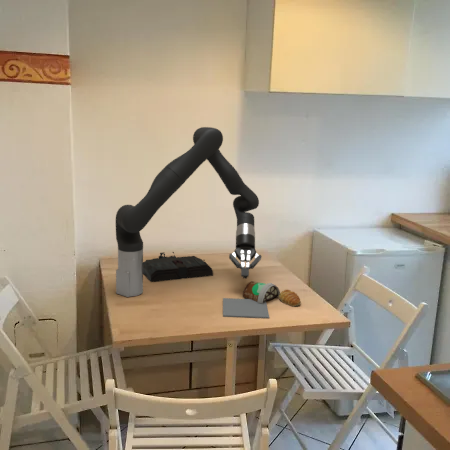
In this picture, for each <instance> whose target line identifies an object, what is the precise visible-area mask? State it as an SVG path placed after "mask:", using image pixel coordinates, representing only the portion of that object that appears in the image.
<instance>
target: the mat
mask: <svg viewBox="0 0 450 450" xmlns="http://www.w3.org/2000/svg"><path fill="white" fill-rule="evenodd" d="M268 308H269V307H268V304H267V301H264V302H263V304H262V303H257V302H256V301H254V300H251V299H248V298H229V297H223V298H222V317H223V318H226V317H227V318H245V319H246V318H248V319H249V318H250V319H252V318H253V319H270V314H269V309H268Z"/></svg>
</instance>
